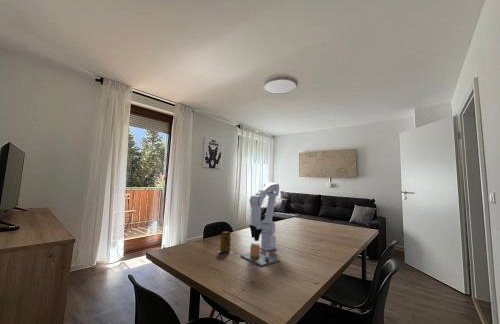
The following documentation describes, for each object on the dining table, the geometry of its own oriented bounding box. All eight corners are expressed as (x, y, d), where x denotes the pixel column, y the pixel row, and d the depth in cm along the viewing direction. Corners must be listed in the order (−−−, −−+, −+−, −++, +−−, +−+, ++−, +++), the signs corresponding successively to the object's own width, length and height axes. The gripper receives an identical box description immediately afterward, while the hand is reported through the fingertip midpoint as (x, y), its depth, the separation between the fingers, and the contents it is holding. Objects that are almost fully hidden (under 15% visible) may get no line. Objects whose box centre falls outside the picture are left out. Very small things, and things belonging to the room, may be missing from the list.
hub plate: (258, 252, 132) (258, 244, 132) (279, 261, 118) (280, 252, 118) (240, 256, 123) (240, 247, 123) (261, 266, 109) (261, 256, 110)
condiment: (226, 249, 135) (227, 230, 136) (234, 253, 129) (235, 233, 130) (216, 251, 131) (217, 231, 132) (224, 255, 124) (225, 234, 125)
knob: (258, 253, 126) (258, 242, 127) (259, 256, 122) (260, 245, 122) (249, 253, 126) (250, 242, 126) (251, 256, 121) (251, 245, 121)
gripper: (246, 213, 133) (246, 235, 132) (251, 217, 119) (251, 242, 118) (257, 213, 134) (257, 235, 133) (264, 217, 120) (263, 242, 119)
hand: (255, 239), depth 126 cm, fingers open, 7 cm apart
